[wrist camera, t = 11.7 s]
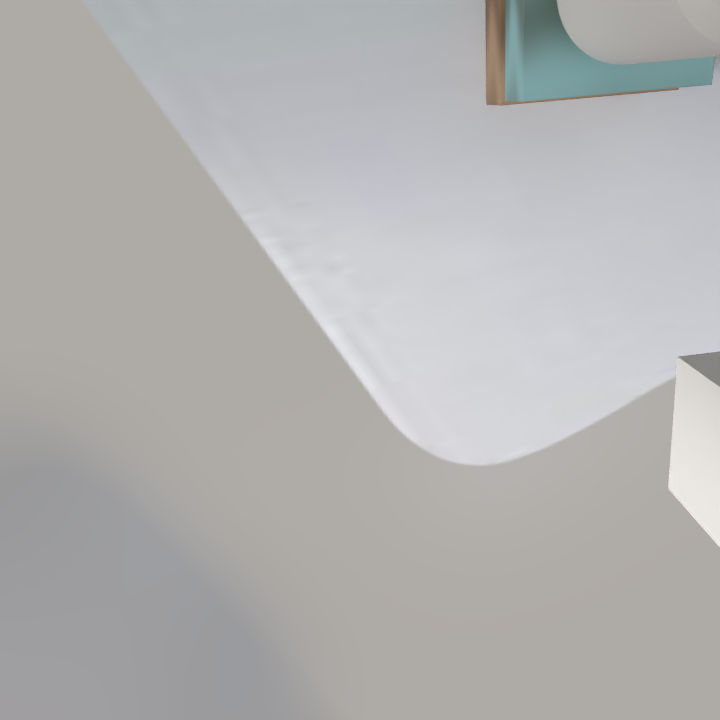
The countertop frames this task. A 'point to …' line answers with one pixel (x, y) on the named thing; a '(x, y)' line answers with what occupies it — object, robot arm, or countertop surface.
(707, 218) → the countertop surface
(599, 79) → the teal and brown block
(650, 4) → the beverage can
